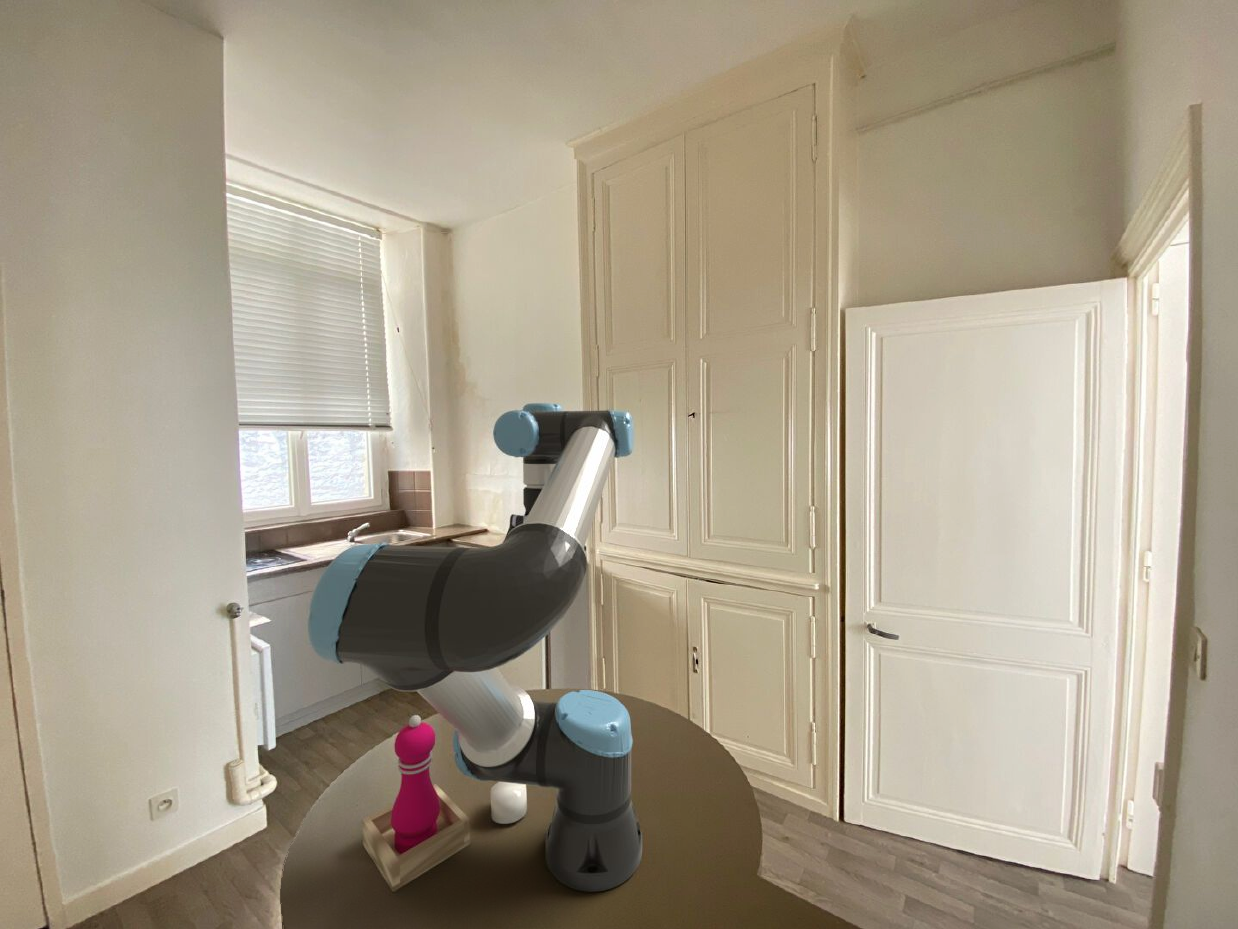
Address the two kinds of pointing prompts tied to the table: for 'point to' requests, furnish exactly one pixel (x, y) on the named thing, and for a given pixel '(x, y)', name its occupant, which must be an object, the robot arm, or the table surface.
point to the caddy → (422, 856)
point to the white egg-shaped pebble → (508, 802)
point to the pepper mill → (414, 787)
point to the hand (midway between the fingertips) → (544, 597)
